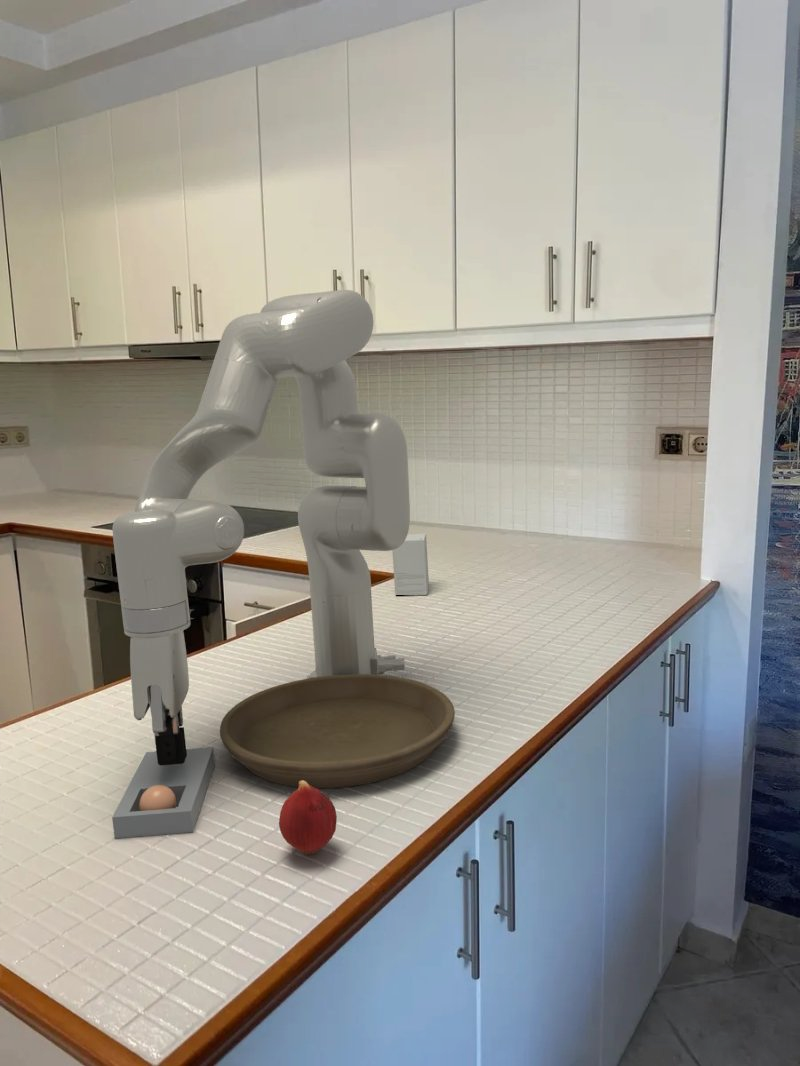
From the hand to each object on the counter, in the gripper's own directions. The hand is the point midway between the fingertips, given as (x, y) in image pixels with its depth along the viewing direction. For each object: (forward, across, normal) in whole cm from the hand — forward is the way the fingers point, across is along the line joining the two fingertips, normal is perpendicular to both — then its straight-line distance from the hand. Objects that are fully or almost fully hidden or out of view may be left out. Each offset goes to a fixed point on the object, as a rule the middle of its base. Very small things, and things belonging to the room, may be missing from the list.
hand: (172, 761), depth 101 cm
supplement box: (+4, -84, +37) cm, 92 cm away
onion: (+3, +18, +17) cm, 25 cm away
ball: (+1, +8, 0) cm, 8 cm away
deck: (+3, +3, 0) cm, 5 cm away
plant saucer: (+4, -9, +20) cm, 22 cm away
